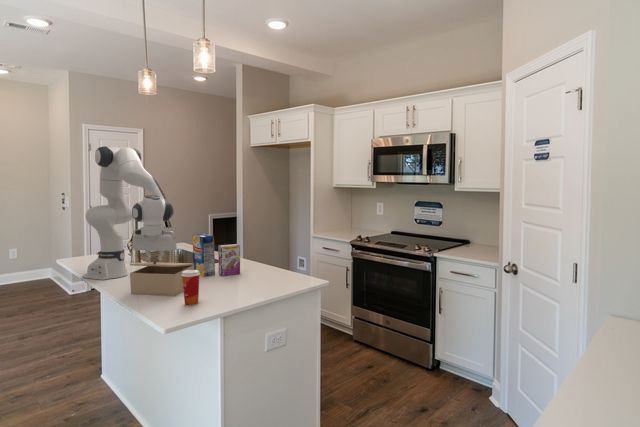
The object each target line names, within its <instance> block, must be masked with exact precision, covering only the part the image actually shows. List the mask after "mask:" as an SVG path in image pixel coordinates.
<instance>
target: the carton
mask: <svg viewBox="0 0 640 427" xmlns="http://www.w3.org/2000/svg"><path fill="white" fill-rule="evenodd" d="M186 270H194V265H188V266H179V267H163V266H143V267H141V268H139V269H136V270H134V271H131V272H130V273H129V277H130V278H129V279H130V280H129V282H130V294H131V295H139V296H140V295H141V296H145V295H146V296H163V297H164V296H167V297H177V296H178V295H180V294H181V293H182V292H183V293H184V291H183V280H182V276H181V275H182V272H183V271H186Z"/></svg>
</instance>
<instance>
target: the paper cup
mask: <svg viewBox="0 0 640 427" xmlns="http://www.w3.org/2000/svg"><path fill="white" fill-rule="evenodd" d="M199 275H200V273H199V271H198V270H186V271H183V272H182V275H181V276H182V280H183V300H184V305H186V306H195V305H197V304H199V292H200V276H199Z"/></svg>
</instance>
